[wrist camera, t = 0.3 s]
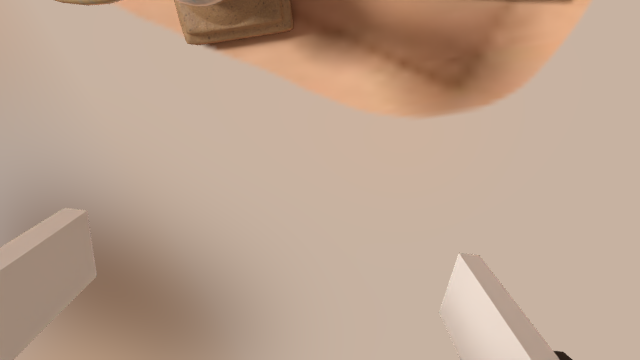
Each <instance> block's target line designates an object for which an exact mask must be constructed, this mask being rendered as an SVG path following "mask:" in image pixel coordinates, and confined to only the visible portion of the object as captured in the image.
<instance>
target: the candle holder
mask: <svg viewBox="0 0 640 360" xmlns="http://www.w3.org/2000/svg"><path fill="white" fill-rule="evenodd" d="M55 1H59V2H62V3H70V4H79V5H102V4H111V3H114V2H118V1H122V0H55ZM174 2H175V5H176V9H177V13H178V17H179V21H180V24H181V27H182V31H183V34H184V37H185V40H186V42H187V43H188V44H193V45H201V44H211V43H218V42H224V41H231V40H237V39H244V38H251V37H257V36H264V35H270V34H277V33H282V32H286V31H290V30H292V29H293V16H292V8H291V1H290V0H174Z"/></svg>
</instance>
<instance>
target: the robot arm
mask: <svg viewBox="0 0 640 360" xmlns="http://www.w3.org/2000/svg"><path fill="white" fill-rule="evenodd" d="M96 276H97V275H96V268H95V261H94V254H93V247H92V240H91V233H90V226H89V219H88V212H87V210H79V209H69V208H63V209H62V210H60V211H59V212H57V213H55V214H54V215H52V216H50V217H49V218H47V219H46V220H44V221H43V222H41V223H39V224H38V225H36V226H34V227H33V228H31V229H29V230H28V231H26V232H25V233H23V234H21V235H20V236H18V237H17V238H15V239H13V240H12V241H10V242H8V243H7V244H5V245H4V246H2V247H0V360H14V359H15V358H16V357H17V356H18V355H19V354H20V353H21V352H22V351H23V350H24V349H25V348H26V347H27V346H28V345H29V344H30V343H31V342H32V341H33V340H34V339H35V338H36V337H37V336H38V335H39V334H40V333H41V332H42V331H43V330H44V329H45V328H46V327H47V325H48V324H50V323H51V322H52V321H53V320H54V319H55V318H56V317H57V316H58V314H60V313H61V312H62V311H63V309H64V308H66V306H67V305H69V303H70V302H71V301H72V300H73V299H74V298H75V297H76V296H77V295H78V294H79V293H80V292H81V291H82V290H83V289H84V288H85V287H86V286H87V285H88V284H89V283H90V282H91V281H92V280H93V279H94V278H95V277H96ZM439 313H440V315H441V318H442V320H443V322H444V324H445V327H446V329H447V331H448V333H449V335H450V338H451V340H452V342H453V344H454V347H455V349H456V351H457V353H458V355H459V357H460V360H572V359H571V358H570V357H569V356H567V355H566V354H565V353H564V352H559V351H553V350H552V349H551V348H550V346H549V345H548V344H547V342H546V341H545V340H544V338H543V337H542V336H541V335H540V334H539V332H538V331H537V329H536V328H535V327H534V326H533V324H532V323H531V322H530V320H529V319H528V318H527V317H526V315H525V314H524V313H523V311H522V310H521V309H520V307H519V306H518V305H517V303H516V302H515V301H514V299H513V298H512V297H511V296H510V294H509V293H508V292H507V290H506V289H505V288H504V287H503V285H502V284H501V283H500V281H499V280H498V279H497V277H496V276H495V275H494V274H493V272H492V271H491V270H490V269H489V267H488V266H487V265H486V263H485V262H484V261H483V259H482V258H481V257H480V255H472V254H463V253H459V255H458V257H457V260H456V263H455V266H454V269H453V272H452V275H451V278H450V281H449V284H448V287H447V290H446V293H445V296H444V299H443V302H442V305H441V308H440V311H439Z"/></svg>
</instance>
